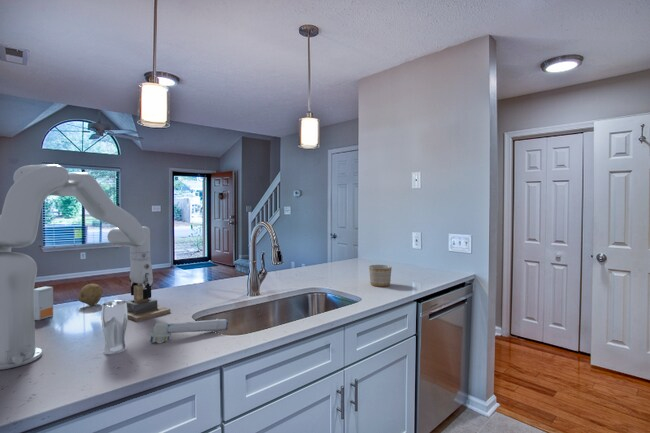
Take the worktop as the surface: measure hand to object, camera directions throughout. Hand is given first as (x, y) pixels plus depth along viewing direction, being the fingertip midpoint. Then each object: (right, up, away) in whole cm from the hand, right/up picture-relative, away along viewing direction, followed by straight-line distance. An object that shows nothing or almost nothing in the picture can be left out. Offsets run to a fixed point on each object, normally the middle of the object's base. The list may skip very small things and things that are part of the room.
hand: (141, 296), depth 144 cm
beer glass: (+12, -8, -37) cm, 40 cm away
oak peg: (0, -5, 0) cm, 5 cm away
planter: (+109, -5, +50) cm, 120 cm away
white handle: (+31, -8, -25) cm, 40 cm away
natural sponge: (-28, -7, +10) cm, 30 cm away
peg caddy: (0, -7, 0) cm, 7 cm away
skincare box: (-36, -7, -6) cm, 37 cm away
